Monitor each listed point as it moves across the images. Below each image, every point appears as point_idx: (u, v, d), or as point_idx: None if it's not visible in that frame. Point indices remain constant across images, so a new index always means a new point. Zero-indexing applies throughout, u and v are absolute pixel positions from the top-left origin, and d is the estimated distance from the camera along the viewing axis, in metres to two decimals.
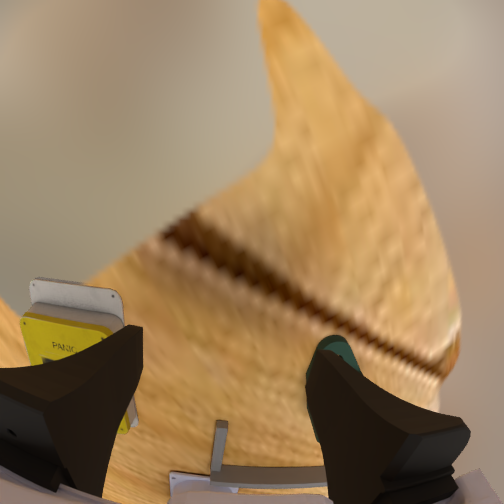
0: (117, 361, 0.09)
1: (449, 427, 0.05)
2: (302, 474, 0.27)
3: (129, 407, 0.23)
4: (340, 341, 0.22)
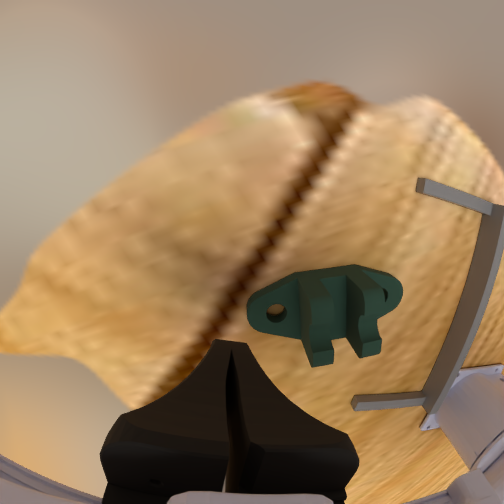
0: None
1: (313, 445, 0.05)
2: (465, 311, 0.20)
3: None
4: (247, 311, 0.19)
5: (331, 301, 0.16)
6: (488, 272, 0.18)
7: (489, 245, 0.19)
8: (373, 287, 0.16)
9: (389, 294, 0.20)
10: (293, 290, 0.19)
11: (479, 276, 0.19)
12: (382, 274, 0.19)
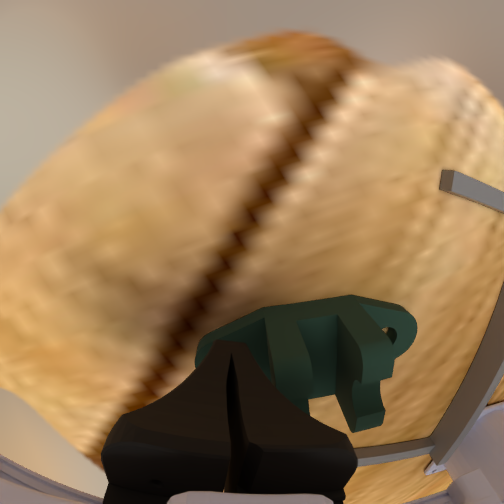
0: (226, 380, 0.09)
1: (312, 445, 0.05)
2: (492, 347, 0.14)
3: None
4: (195, 359, 0.13)
5: (309, 366, 0.09)
6: None
7: None
8: (376, 341, 0.10)
9: (398, 334, 0.14)
10: (259, 334, 0.13)
11: None
12: (390, 308, 0.13)
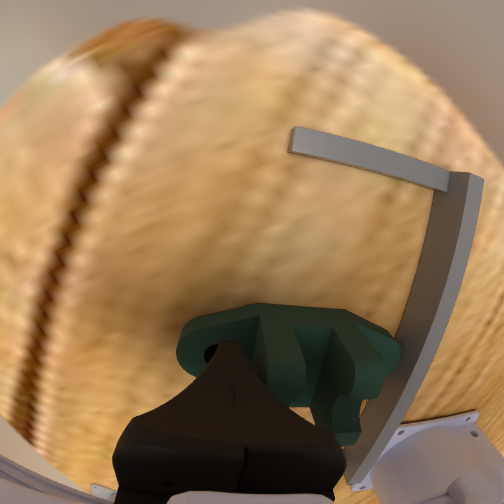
0: None
1: (298, 445, 0.05)
2: (403, 351, 0.14)
3: None
4: (178, 343, 0.13)
5: (303, 372, 0.09)
6: (441, 290, 0.12)
7: (444, 243, 0.12)
8: (371, 360, 0.10)
9: None
10: (250, 331, 0.13)
11: (426, 295, 0.13)
12: (380, 333, 0.13)
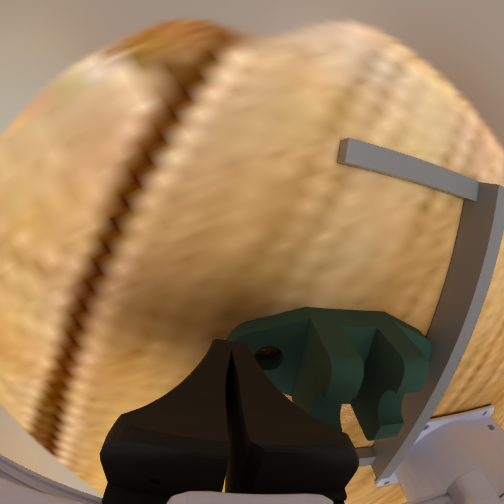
0: None
1: (313, 445, 0.05)
2: (434, 350, 0.14)
3: None
4: None
5: (361, 369, 0.10)
6: (472, 293, 0.12)
7: (474, 249, 0.12)
8: (416, 356, 0.10)
9: None
10: (300, 333, 0.13)
11: (457, 298, 0.13)
12: (415, 332, 0.14)
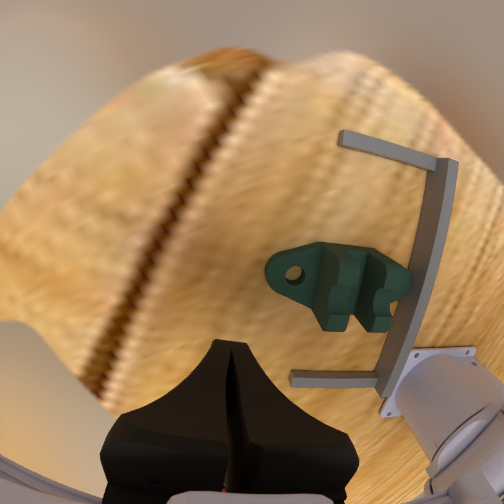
0: None
1: (313, 445, 0.05)
2: (413, 279, 0.20)
3: None
4: (268, 267, 0.20)
5: (358, 266, 0.16)
6: (435, 232, 0.18)
7: (435, 203, 0.19)
8: (394, 264, 0.17)
9: None
10: (316, 256, 0.20)
11: (426, 238, 0.19)
12: None
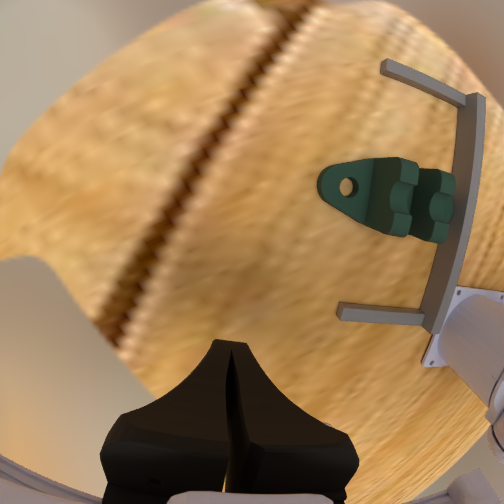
0: None
1: (313, 445, 0.05)
2: (455, 204, 0.19)
3: None
4: (323, 176, 0.19)
5: (417, 165, 0.15)
6: (472, 157, 0.17)
7: (468, 132, 0.17)
8: None
9: None
10: (368, 169, 0.18)
11: (463, 164, 0.18)
12: None
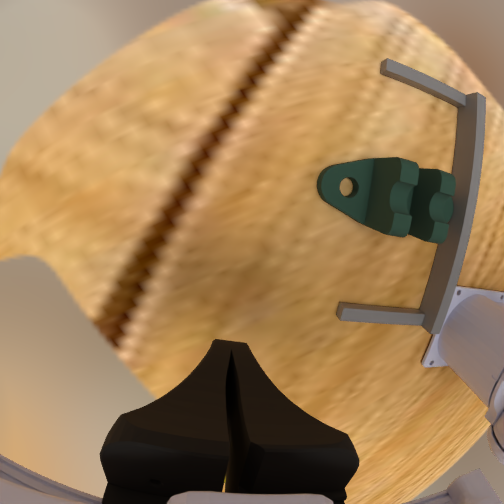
0: None
1: (313, 445, 0.05)
2: (455, 204, 0.19)
3: None
4: (323, 176, 0.19)
5: (417, 165, 0.15)
6: (472, 157, 0.17)
7: (468, 132, 0.17)
8: (445, 172, 0.16)
9: None
10: (368, 169, 0.18)
11: (463, 164, 0.18)
12: None
